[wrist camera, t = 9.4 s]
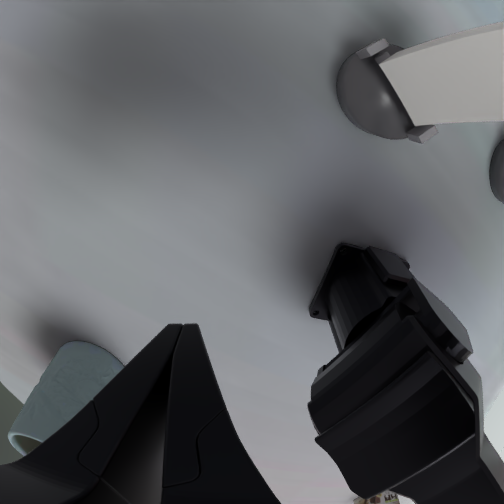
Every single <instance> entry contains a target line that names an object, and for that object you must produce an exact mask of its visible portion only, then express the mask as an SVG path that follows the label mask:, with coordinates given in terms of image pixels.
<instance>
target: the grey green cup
mask: <svg viewBox="0 0 504 504" xmlns="http://www.w3.org/2000/svg"><path fill="white" fill-rule="evenodd" d="M123 368H124V366H123V365H122V364H121V362H120V361H118V360H117V358H115V357H114V356H113V355H112V354H110V353H109V352H108V351H106V350H104V349H102V348H100V347H98V346H96V345H93V344H91V343H87V342H82V341H72V342H68V343H66V344H64V345H63V346H62V347H61V348H60V349H59V350H58V352H57V353H56V355H55V357H54V358H53V360H52V361H51V363H50V364H49V366H48V367H47V369H46V370H45V372H44V373H43V375H42V376H41V378H40V381H39V383H38V384H37V385H36V386H35V387H34V389H33V391H32V392H31V394H30V396H29V397H28V399H27V401H26V403H25V404H24V406H23V408H22V410H21V412H20V414H19V415H18V417H17V418H16V420H15V422H14V424H13V425H12V427H11V429H10V431H9V433H8V439H9V441H10V442H11V444H12V445H13V446H14V447H15V448H16V449H17V450H18V451H19V452H20V453H21V454H22V455H23V456H25V455H27V454H28V453H29V452H31V451H32V450H33V449H34V448H36V447H37V446H38V445H40V444H41V443H42V442H43V441H45V440H46V439H47V438H49V437H50V436H51V435H52V434H54V433H55V432H56V431H57V430H59V429H60V428H61V427H62V426H63V425H64V424H66V423H67V422H68V421H69V420H70V419H71V418H73V417H74V416H75V415H76V414H77V413H78V412H79V411H80V410H81V409H82V408H83V407H84V406H85V405H86V404H87V403H88V402H89V401H90V400H93V397H94V396H95V395H96V394H97V393H99V392H100V391H101V390H102V389H103V388H104V387H105V386H106V385H107V384H108V383H109V382H110V381H111V380H112V379H113V378H114V377H115V376H116V375H117V374H118V373H119V372H120V371H121V370H122V369H123Z"/></svg>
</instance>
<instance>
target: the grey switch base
mask: <svg viewBox="0 0 504 504" xmlns="http://www.w3.org/2000/svg"><path fill="white" fill-rule="evenodd" d="M401 50H404V49H403V48H401V47H398V46H395V45H390V44H388V43H387V41H386V40H385V38H383V39H381V40H378V41H376V42H373V43H371V44H370V45H368V46H366V47H364V48H363V49H361V50H359V51H357V52H356V53H354V54H352V55H351V56H350V57H349V58H348V59H347V60H346V61H345V62H344V63H343V65H342V67H341V68H340V71H339V74H338V78H337V96H338V100H339V103H340V105H341V108H342V110H343V111H344V113H345V115H346V116H347V117H348V119H349V120H350V121H351V122H352V123H353V124H354V125H356V126H357V127H358V128H360V129H361V130H363V131H365V132H367V133H370V134H373V135H377V136H380V137H383V138H387V139H396V140H397V139H404V138H409V140H411V141H414V142H418V143H421V144H423V143H424V142H426V141H427V140H429V139H430V138H432V137H433V136H434V135H436V134H437V133H439V132H438V130H437V128H436V126H435V125H420V126H414V124H413V122H412V120H411V118H410V116H409V114H408V112H407V111H406V109H405V107H404V105H403V104H402V102H401V100H400V98H399V97H398V95H397V93H396V92H395V90H394V88H393V87H392V85H391V83H390V82H389V80H388V78H387V77H386V75H385V74H384V72H383V71H382V69H381V67H380V66H379V64H378V63H377V61H376V60H375V57H377V56H379V55H381V54H383V53H385V52H388V53H389V55H390V56H392V55H393V54H395V53H396V52H399V51H401Z"/></svg>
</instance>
